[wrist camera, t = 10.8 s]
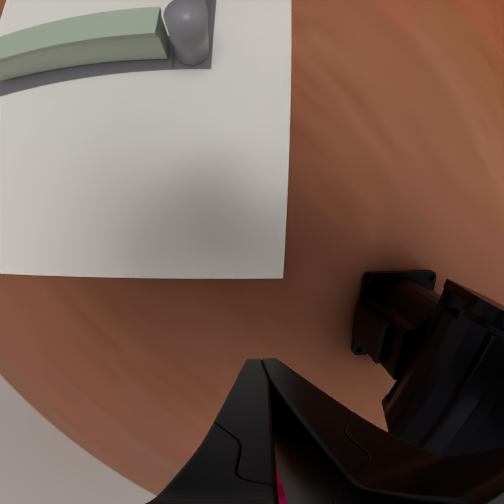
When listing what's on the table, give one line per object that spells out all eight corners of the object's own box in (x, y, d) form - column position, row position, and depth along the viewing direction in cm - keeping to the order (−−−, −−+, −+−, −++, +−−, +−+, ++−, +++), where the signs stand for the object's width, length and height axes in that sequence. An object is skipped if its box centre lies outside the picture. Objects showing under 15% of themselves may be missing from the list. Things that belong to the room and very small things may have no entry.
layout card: (287, -63, 15) (306, -110, 9) (281, 275, 21) (305, 313, 15) (23, -33, 12) (-8, -63, 6) (-10, 270, 18) (-57, 297, 13)
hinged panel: (170, 39, 16) (159, 6, 11) (167, 61, 16) (154, 33, 12) (5, 63, 14) (-30, 47, 10) (1, 83, 15) (-36, 71, 10)
